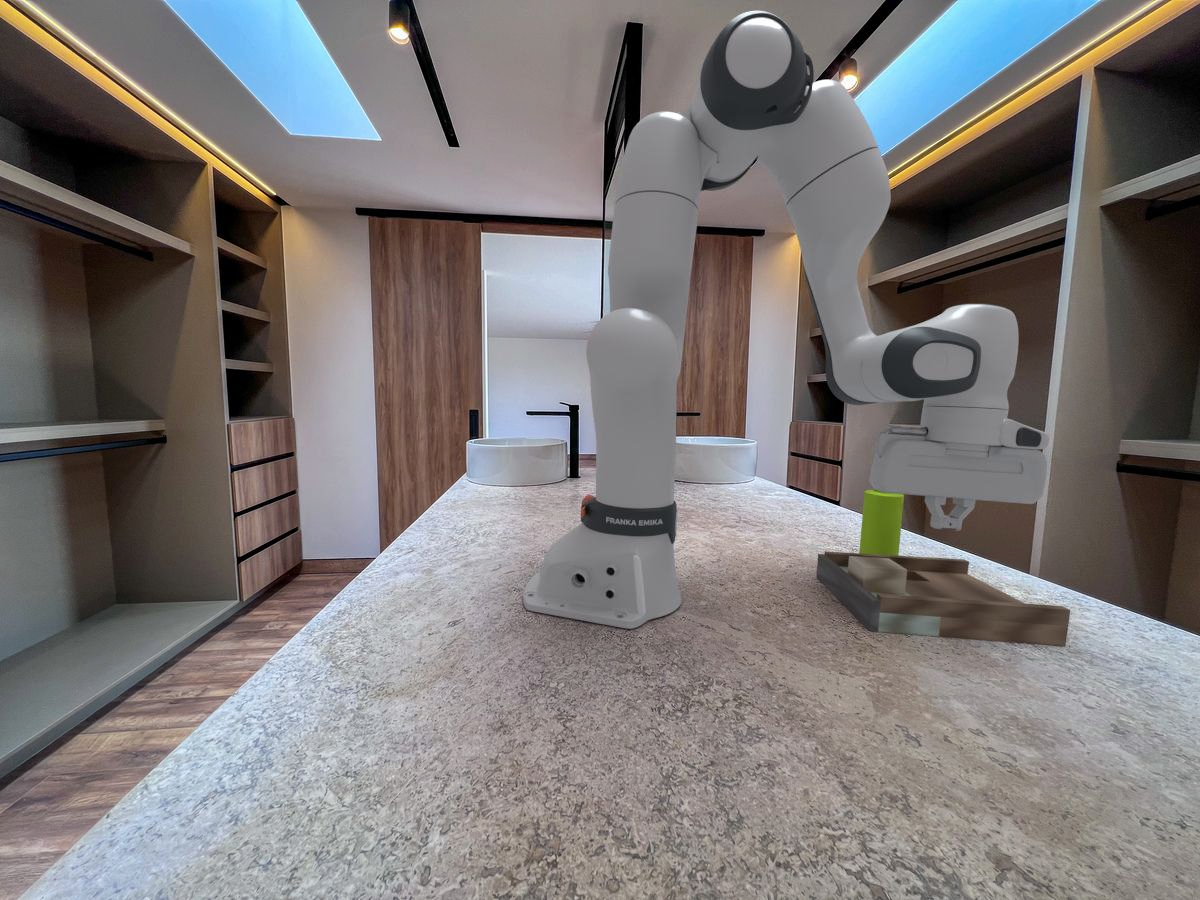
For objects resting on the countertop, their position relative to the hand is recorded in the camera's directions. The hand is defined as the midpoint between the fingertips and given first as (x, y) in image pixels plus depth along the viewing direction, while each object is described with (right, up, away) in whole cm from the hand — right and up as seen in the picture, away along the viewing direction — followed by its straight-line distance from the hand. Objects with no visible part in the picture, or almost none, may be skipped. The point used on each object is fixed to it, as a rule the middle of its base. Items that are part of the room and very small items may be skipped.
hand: (945, 528), depth 59 cm
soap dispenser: (+3, -10, +18) cm, 21 cm away
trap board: (-2, -11, +1) cm, 12 cm away
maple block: (-9, -9, +2) cm, 12 cm away
